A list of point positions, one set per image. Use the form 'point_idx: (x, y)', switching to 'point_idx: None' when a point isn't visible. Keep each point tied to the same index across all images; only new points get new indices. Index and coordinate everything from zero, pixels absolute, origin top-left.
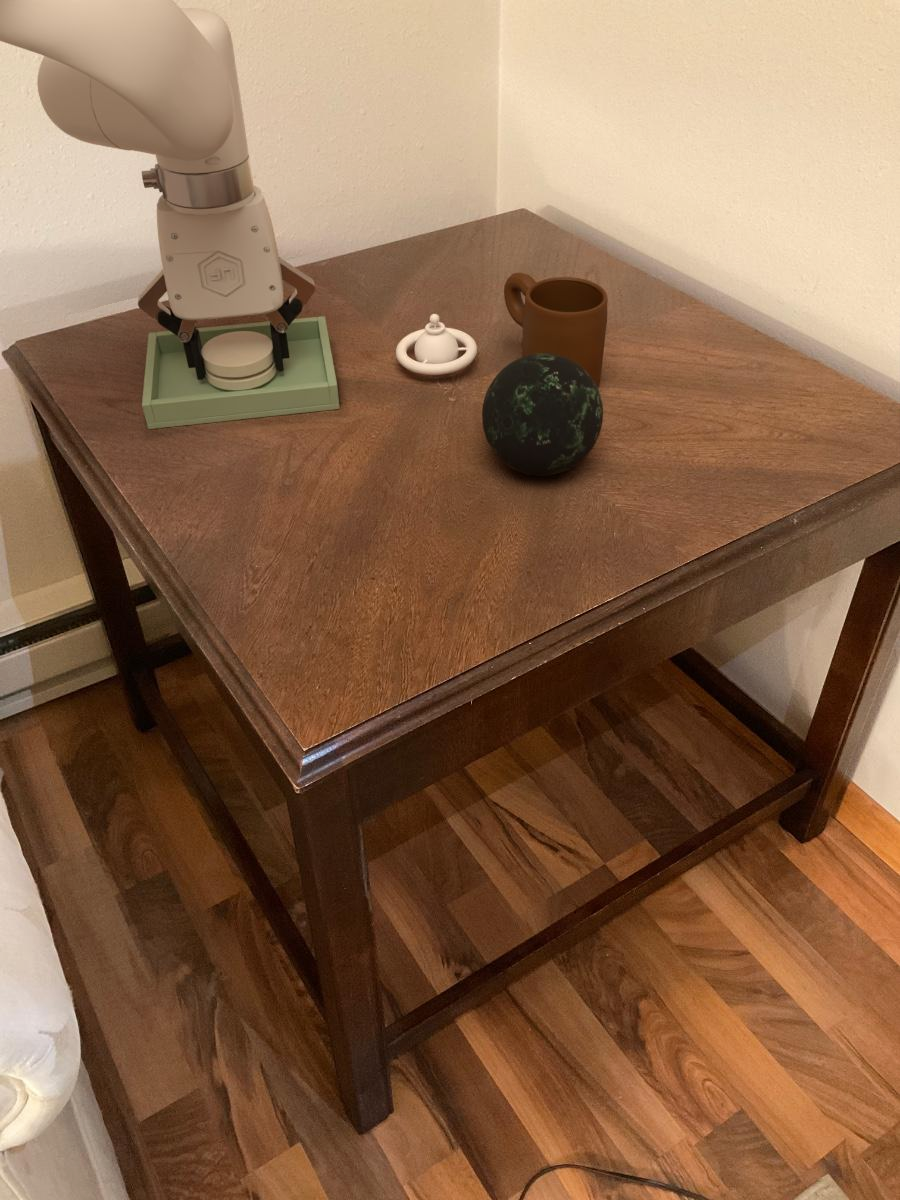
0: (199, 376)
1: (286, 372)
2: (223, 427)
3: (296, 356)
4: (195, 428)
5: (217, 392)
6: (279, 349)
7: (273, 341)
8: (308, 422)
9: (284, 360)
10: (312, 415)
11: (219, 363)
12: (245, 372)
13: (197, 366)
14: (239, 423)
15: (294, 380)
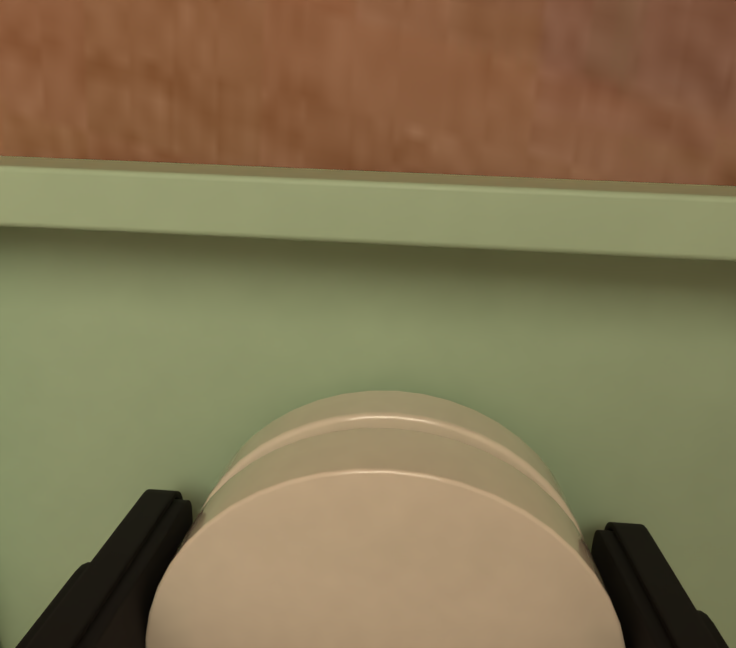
0: (635, 531)
1: None
2: (536, 118)
3: None
4: (695, 146)
5: (532, 430)
6: (85, 581)
7: (87, 640)
8: (61, 56)
9: None
10: (42, 127)
11: (521, 535)
12: (351, 442)
13: (661, 579)
14: (442, 140)
15: (123, 441)
